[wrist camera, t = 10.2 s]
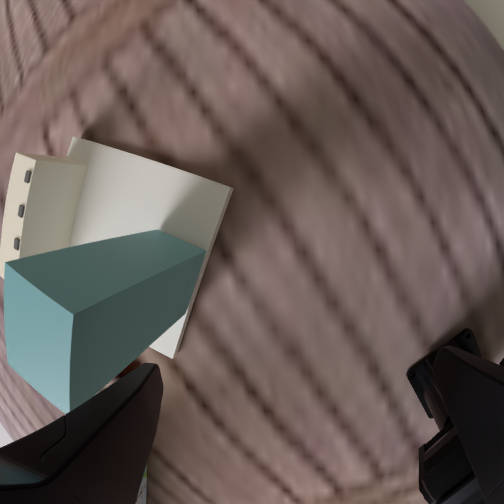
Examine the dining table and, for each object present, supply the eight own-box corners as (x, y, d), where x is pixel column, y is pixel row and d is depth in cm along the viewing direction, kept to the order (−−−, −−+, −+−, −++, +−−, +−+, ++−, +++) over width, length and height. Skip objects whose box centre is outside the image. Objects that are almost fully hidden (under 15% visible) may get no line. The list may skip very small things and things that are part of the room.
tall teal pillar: (206, 250, 20) (73, 314, 8) (185, 313, 22) (69, 417, 9) (156, 229, 21) (4, 262, 8) (140, 291, 22) (7, 363, 9)
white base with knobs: (233, 188, 21) (197, 180, 14) (177, 353, 24) (135, 400, 17) (80, 137, 22) (21, 125, 15) (49, 278, 25) (-4, 296, 18)
